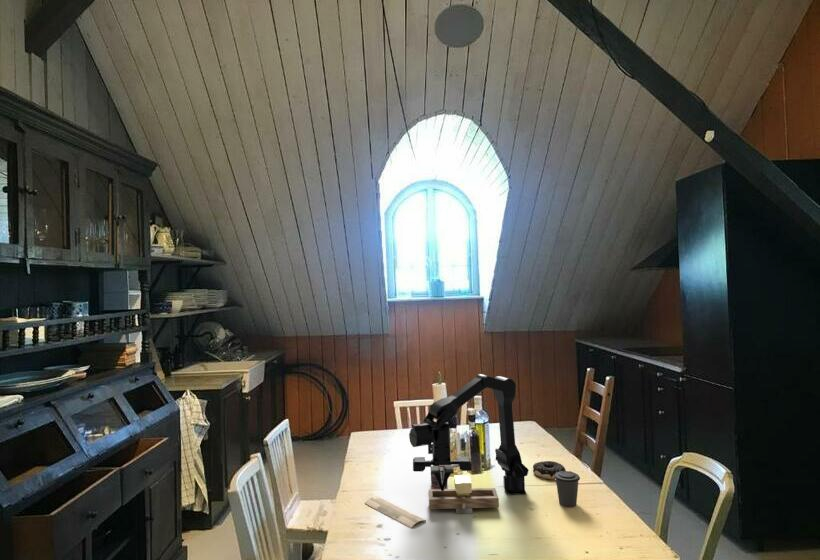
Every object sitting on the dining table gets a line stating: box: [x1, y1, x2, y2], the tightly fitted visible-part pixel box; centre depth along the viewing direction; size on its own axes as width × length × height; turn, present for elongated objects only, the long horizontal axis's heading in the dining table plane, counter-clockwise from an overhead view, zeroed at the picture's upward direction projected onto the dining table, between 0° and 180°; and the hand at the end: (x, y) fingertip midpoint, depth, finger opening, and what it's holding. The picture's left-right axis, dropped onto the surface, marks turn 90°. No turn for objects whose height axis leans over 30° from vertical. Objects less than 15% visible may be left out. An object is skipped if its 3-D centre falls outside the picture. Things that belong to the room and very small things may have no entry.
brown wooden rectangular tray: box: [428, 487, 500, 515], centre depth 164 cm, size 22×9×5 cm, turn 89°
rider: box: [454, 474, 473, 497], centre depth 164 cm, size 5×7×6 cm
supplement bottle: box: [430, 458, 448, 489], centre depth 182 cm, size 6×6×11 cm
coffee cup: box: [554, 470, 581, 509], centre depth 164 cm, size 8×8×10 cm
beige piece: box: [364, 496, 427, 529], centre depth 162 cm, size 24×7×2 cm, turn 42°
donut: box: [532, 460, 567, 480], centre depth 189 cm, size 11×12×4 cm
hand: (442, 490), depth 164 cm, fingers closed
